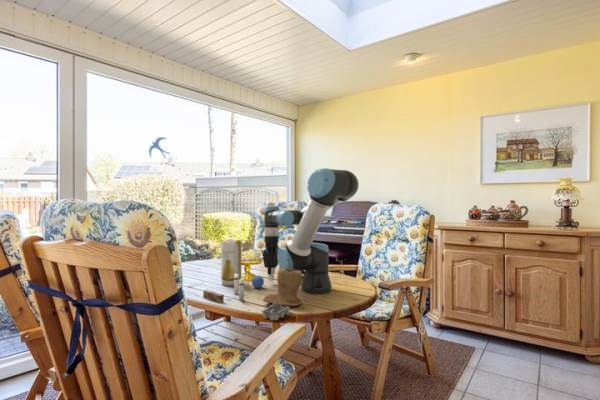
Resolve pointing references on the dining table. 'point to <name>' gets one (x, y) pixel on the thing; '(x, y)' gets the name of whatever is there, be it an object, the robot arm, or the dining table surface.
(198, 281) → the dining table surface
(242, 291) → the white rounded rod
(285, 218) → the robot arm
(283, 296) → the brown boot
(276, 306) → the egg carton
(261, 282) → the ball
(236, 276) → the white pin
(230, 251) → the juice carton
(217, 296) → the wall
